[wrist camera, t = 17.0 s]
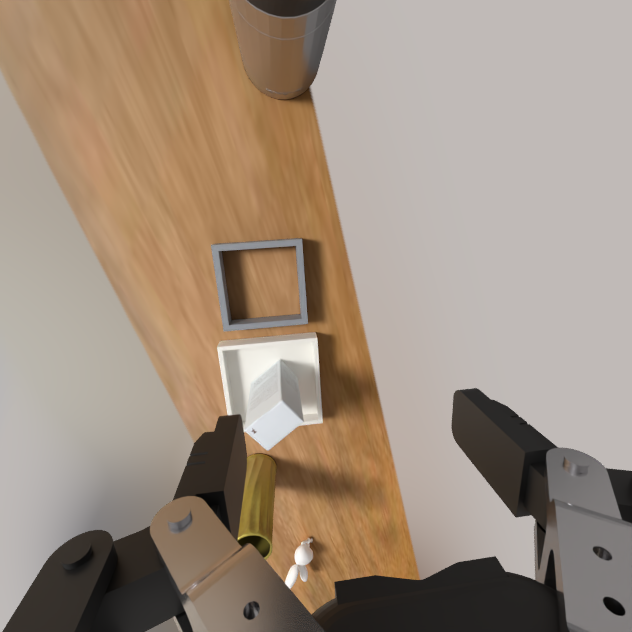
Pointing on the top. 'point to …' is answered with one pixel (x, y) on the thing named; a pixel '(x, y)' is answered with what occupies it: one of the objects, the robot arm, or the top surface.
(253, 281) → the top surface
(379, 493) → the top surface
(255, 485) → the vase
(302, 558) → the rabbit figurine
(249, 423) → the skincare box
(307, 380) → the tray
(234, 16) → the robot arm
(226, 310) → the frame
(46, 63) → the top surface
